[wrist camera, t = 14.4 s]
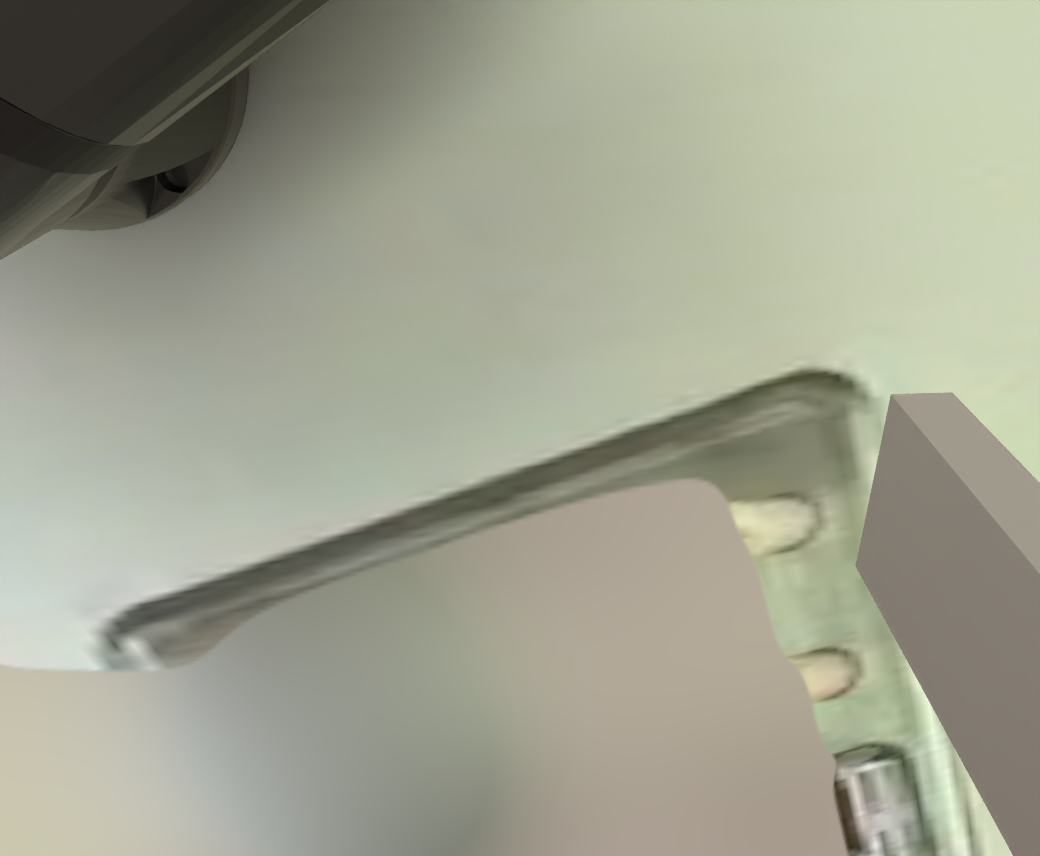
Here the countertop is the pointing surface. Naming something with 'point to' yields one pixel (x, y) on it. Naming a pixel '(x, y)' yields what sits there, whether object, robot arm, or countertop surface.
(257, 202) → the countertop surface
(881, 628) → the countertop surface
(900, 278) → the countertop surface
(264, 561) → the countertop surface
